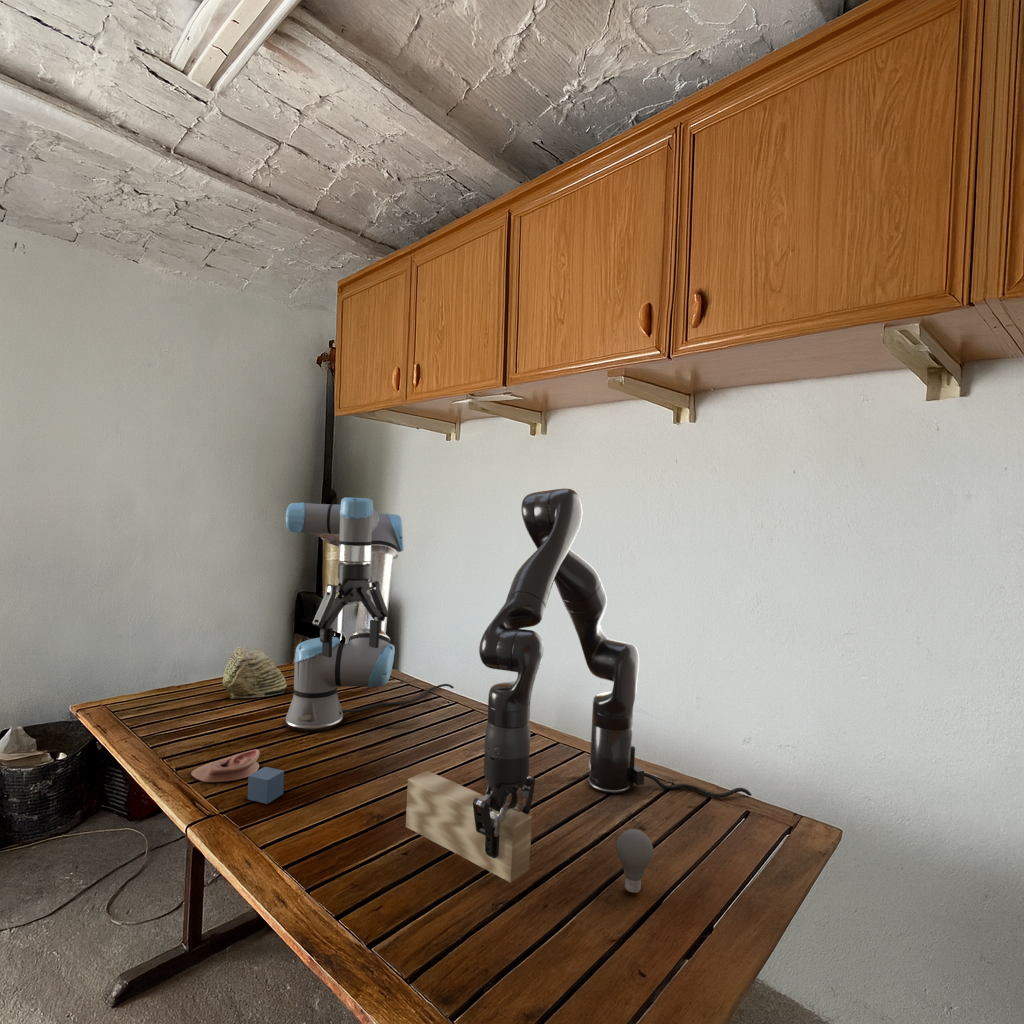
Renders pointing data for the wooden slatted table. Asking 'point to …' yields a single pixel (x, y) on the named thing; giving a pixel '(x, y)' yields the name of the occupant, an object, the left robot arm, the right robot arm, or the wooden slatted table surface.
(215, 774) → the anatomical model
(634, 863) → the light bulb
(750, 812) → the wooden slatted table surface
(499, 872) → the ash bar
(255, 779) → the slate blue block
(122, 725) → the wooden slatted table surface
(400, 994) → the wooden slatted table surface
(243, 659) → the fossil
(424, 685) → the wooden slatted table surface
